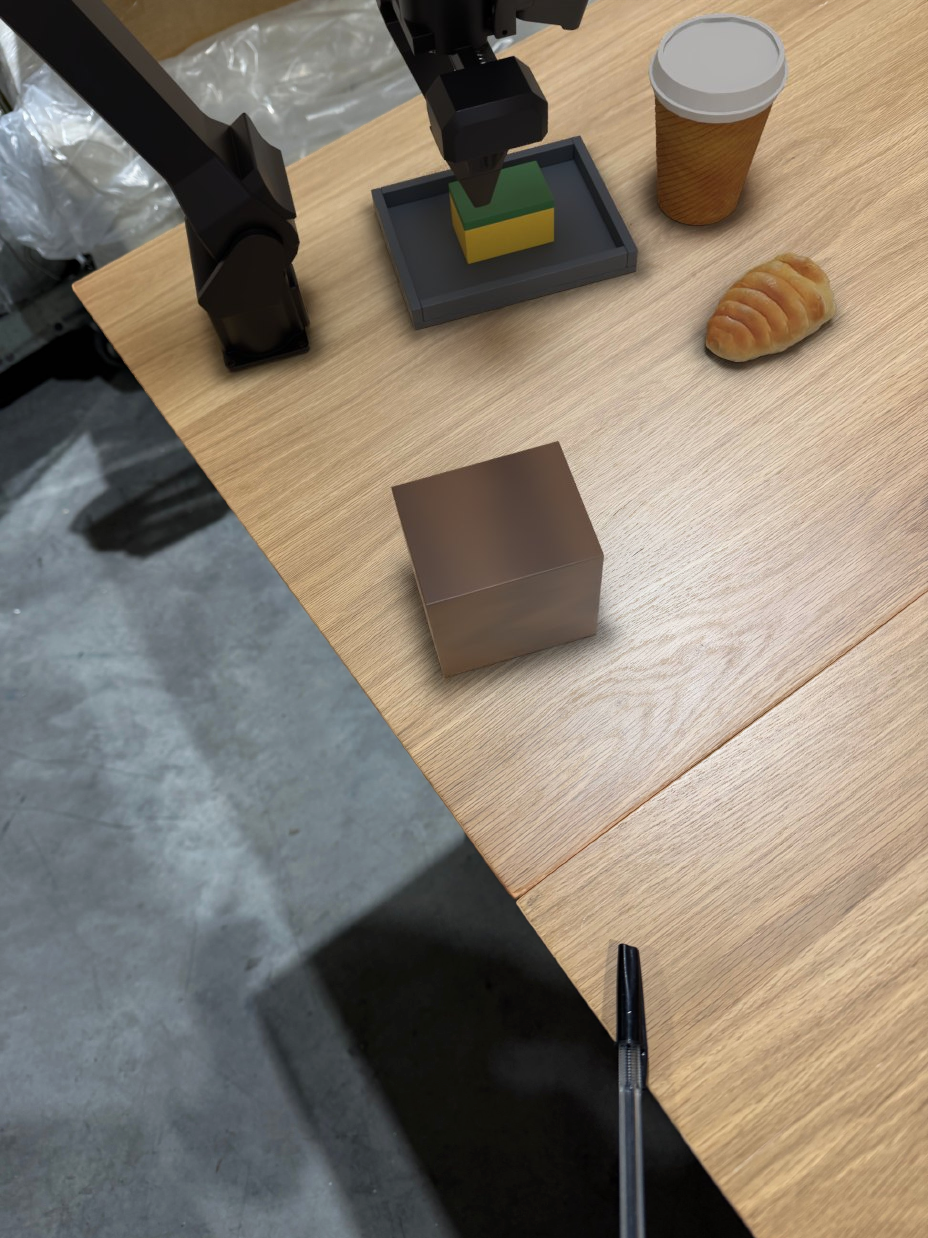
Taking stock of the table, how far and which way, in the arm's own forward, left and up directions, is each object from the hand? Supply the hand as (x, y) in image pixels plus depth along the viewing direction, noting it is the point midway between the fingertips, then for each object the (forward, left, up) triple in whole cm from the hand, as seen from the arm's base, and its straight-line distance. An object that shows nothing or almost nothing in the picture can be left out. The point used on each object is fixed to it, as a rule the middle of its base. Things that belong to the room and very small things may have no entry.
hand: (462, 159), depth 65 cm
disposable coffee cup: (+19, +2, -11) cm, 22 cm away
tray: (+3, +3, -11) cm, 12 cm away
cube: (-6, -28, -11) cm, 30 cm away
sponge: (+3, +3, -10) cm, 11 cm away
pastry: (+19, -12, -11) cm, 25 cm away
